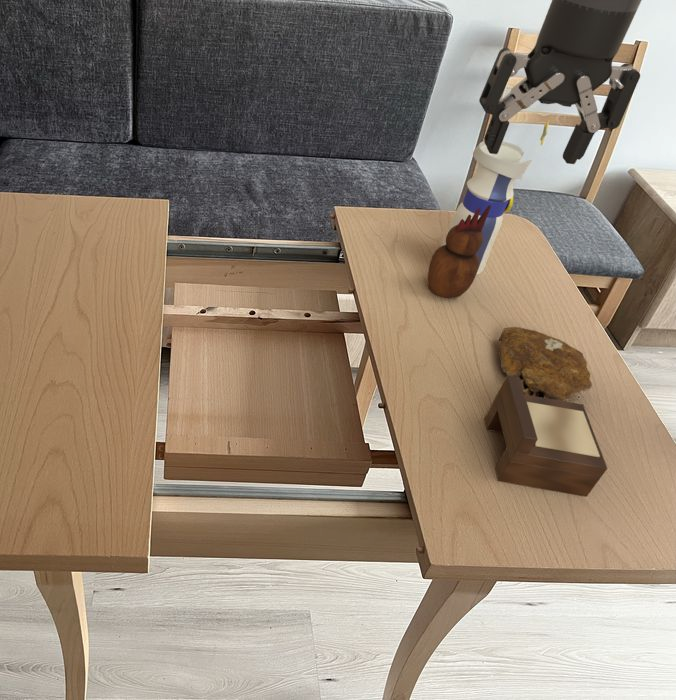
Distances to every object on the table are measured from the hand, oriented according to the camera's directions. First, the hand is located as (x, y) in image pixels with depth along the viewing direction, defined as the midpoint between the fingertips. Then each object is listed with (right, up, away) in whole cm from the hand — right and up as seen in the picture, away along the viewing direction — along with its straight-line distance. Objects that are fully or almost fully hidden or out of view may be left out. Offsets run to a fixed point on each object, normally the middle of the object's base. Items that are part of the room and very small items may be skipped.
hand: (529, 156), depth 76 cm
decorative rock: (+9, -25, +17) cm, 32 cm away
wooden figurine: (+1, -13, +30) cm, 33 cm away
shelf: (+3, -34, +6) cm, 35 cm away
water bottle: (+6, -7, +38) cm, 39 cm away
